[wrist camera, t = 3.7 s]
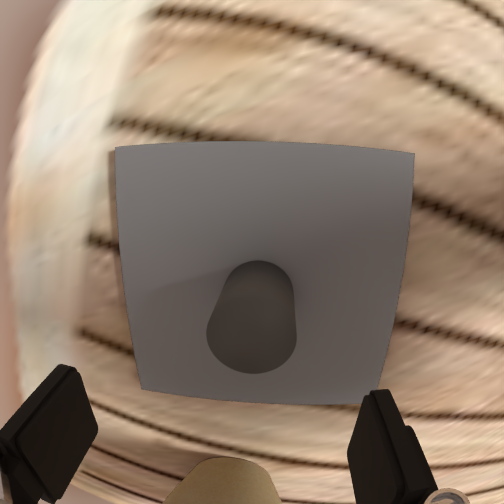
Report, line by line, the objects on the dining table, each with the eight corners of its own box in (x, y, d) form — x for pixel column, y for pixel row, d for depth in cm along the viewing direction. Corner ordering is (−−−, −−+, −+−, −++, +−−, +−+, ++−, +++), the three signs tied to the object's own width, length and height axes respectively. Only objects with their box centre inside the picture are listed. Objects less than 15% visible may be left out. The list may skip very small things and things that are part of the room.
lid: (126, 147, 18) (65, 146, 12) (404, 153, 17) (458, 153, 11) (148, 377, 23) (116, 434, 17) (368, 390, 22) (387, 452, 16)
